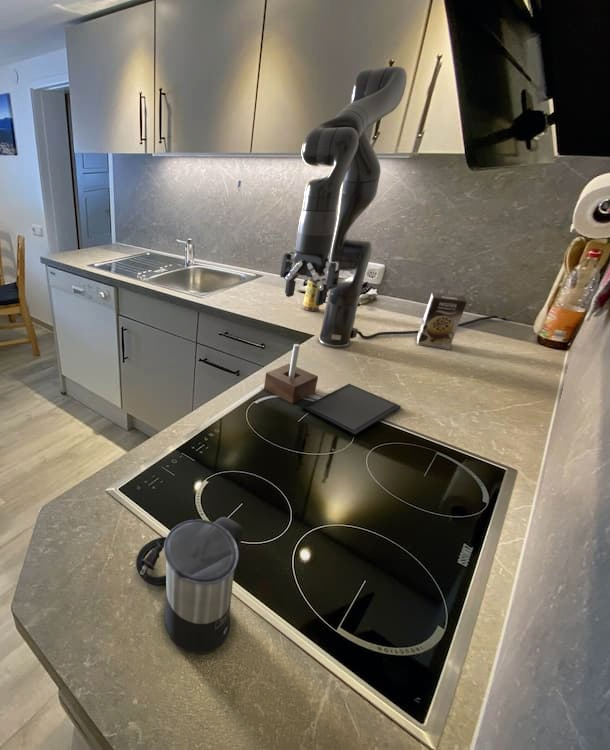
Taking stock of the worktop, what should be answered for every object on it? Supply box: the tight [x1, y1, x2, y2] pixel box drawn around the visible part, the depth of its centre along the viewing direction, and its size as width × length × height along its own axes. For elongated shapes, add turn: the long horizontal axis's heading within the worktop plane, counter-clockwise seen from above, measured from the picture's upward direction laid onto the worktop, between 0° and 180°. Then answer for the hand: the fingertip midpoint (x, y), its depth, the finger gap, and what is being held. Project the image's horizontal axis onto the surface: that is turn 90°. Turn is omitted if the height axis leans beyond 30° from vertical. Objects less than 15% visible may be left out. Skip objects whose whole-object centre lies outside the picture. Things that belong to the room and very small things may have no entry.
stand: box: [263, 363, 319, 405], centre depth 111 cm, size 9×9×5 cm
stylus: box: [289, 343, 301, 379], centre depth 109 cm, size 1×1×14 cm
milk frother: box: [135, 516, 244, 655], centre depth 57 cm, size 14×16×15 cm
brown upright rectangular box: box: [416, 292, 468, 350], centre depth 134 cm, size 9×6×16 cm
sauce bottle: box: [302, 274, 321, 312], centre depth 164 cm, size 6×6×20 cm
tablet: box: [301, 383, 402, 438], centre depth 103 cm, size 20×14×1 cm
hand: (303, 300), depth 101 cm, fingers open, 8 cm apart
